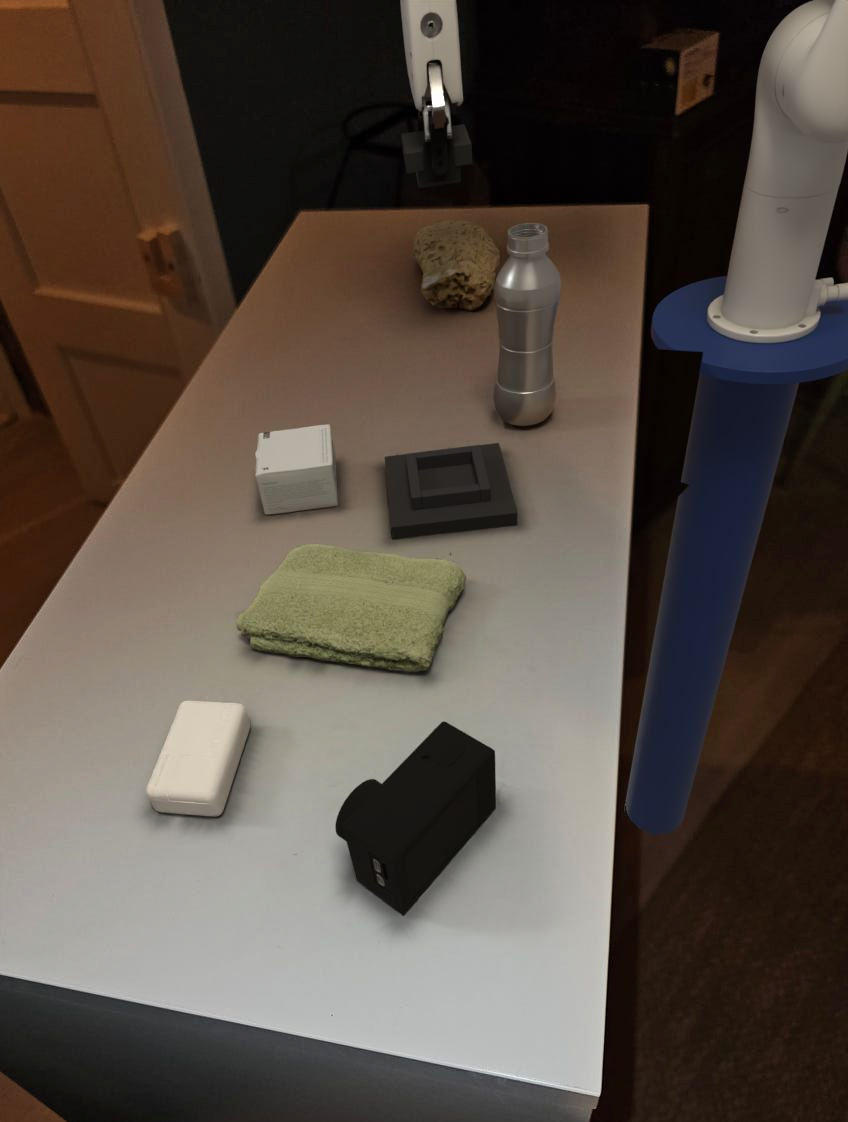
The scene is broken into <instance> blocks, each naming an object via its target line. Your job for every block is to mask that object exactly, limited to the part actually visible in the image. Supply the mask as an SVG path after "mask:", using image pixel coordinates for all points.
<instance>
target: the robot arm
mask: <svg viewBox="0 0 848 1122" xmlns="http://www.w3.org/2000/svg"><path fill="white" fill-rule="evenodd" d="M399 1H400V15H401V24H402V25H401V27H402V37H403V46H404V54H405V55H404V56H405V63H406V69H407V75H408V79H409V80H408V81H409V86H410V90H411V95H412V99H413V102H414V106H415V109H416V110H417V112H418V118H417V119H416V121H417V122H416V124H417V131H423V130H424V133H425V140H423V154H424V167H425V179H426V182H428V183H432V182H439V181H446V180H452V179H454V178H455V176H456V171H455V152H454V137H453V136H452V129H451V126H452V119H451V106H450V102H451V104H455V105H456V106H457V107H460V106H461V105H462V104H463V102H464V94H463V93H464V91H463V79H462V78H463V77H462V65H461V64H462V62H461V48H460V33H459V32H460V30H459V18H458V6H457V0H399ZM757 72H758V74H757V78H756V79H757V80H756V89H755V105H754V115H753V116H754V118H753V128H752V136H751V143H750V150H749V156H748V161H747V167H746V173H745V178H744V182H743V188H742V194H741V199H740V205H739V210H738V215H737V216H738V217H737V221H736V226H735V230H734V231H735V232H734V237H733V242H732V248H731V253H730V259H729V266H728V270H727V275H726V276H727V281H726V286H725V292H724V295H722V296H720V297H718V298H716V299H715V300H714V301H713V302H712V303H711V304H710V305H709V307H708V311H707V322H708V324H709V325H710V327H712V328H713V329H714V330H715V331H716V332H718V333H719V334H721V335H723V336H726V337H728V338H731V339H735V340H738V341H743V342H749V343H759V344H771V343H782V342H788V341H792V340H796V339H799V338H802V337H804V336H806V335H808V334H809V333H811V332H812V331H814V329H815V328H816V327H817V325H818V322H819V319H820V310H819V308H818V306H824V304H825V303H826V302H831V301H834V302H837V301H845V300H848V282H843V283H837V284H835V281H834V278H833V277H825V278H819V279H816V278H817V274H818V270H819V265H820V262H821V258H822V254H823V250H824V246H825V244H826V243H825V242H826V238H827V234H828V231H829V227H830V223H831V219H832V215H833V211H834V207H835V203H836V199H837V197H838V196H837V195H838V191H839V188H840V185H841V182H842V178H843V174H844V169H845V165H846V161H847V155H848V0H810V1H808V2H805V3H803V4H802V5H799V6H798V7H796V8H795V9H793V10H792V11H791V12H790V13H789V14H787V15H786V16H785V17H784V18H783V19H782V20H781V21H780V23H779V24H778V25H777V26H776V27H775V29H774V30H773V32H772V34H771V35H770V36H769V39H768V41H767V43H766V45H765V47H764V50H763V52H762V56H761V58H760V63H759V68H758V71H757Z"/></svg>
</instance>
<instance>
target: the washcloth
mask: <svg viewBox="0 0 848 1122" xmlns="http://www.w3.org/2000/svg"><path fill="white" fill-rule="evenodd" d="M466 580H467V575H466V574H465V572H464V570H463V569H462V568H461V567H460V566H459V565H458V564H456V563H455V562H452V561H450V560H448V559H439V558H413V557H407V556H401V555H398V554H393V553H382V552H375V551H366V550H365V551H363V550H356V549H355V550H354V549H350V548H347V547H346V548H345V547H340V546H339V547H338V546H334V545H329V544H323V543H308V544H303V545H298V546H295V547H293V548H292V549H291V550H290V551H289V552H288V553H287V554H286V555H285V557H284V560H283V561H282V562H281V563H280V565H278V567H277V568H276V569H275V570H274V571H273V573H272V574H270V576H268V578H266V579H265V580H264V582H263V583H262V584H261V585H260V587H259V589H258V593H257V595H256V597H255V599H254V600H253V602H252V603H251V604H250V605H249V606H248V607H247V609H245V610H244V611H242V613H241V614H240V615H239V616H238V617H237V619H236V621H235V625H236V629H237V631H240V634H242V635H244V636H245V637H250V641H249V642H250V643H249V644H250V646H251V648H252V649H255V650H257V651H261V652H270V653H275V654H276V653H277V654H284V655H289V656H290V657H295V658H301V657H307V658H313V659H315V660H322V661H329V662H330V661H331V662H336V663H340V662H341V663H342V664H345V663H346V664H347V665H348V664H349V665H358V666H361V667H368V668H374V667H375V668H378V669H381V668H382V669H388V670H392V671H405V672H406V673H416V672H417V673H418V672H421V671H426V670H428V669H429V667H430V666H431V664H432V663H433V661H432V659H433V657H434V656H435V647H437V646H439V643H438V642H439V641H440V639H441V638H442V635H443V632H444V631H445V628H444V626H443V625H444V623H445V620H446V618H447V616H448V613H449V611H451V610H453V609H454V607H455V605H456V601H457V600H458V597H459V596H460V595H461V593H462V591H463V589H464V588H465V587H466Z"/></svg>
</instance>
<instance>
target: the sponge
mask: <svg viewBox="0 0 848 1122" xmlns="http://www.w3.org/2000/svg"><path fill="white" fill-rule="evenodd" d="M412 245H413V246H412V249H413V256H414V257H415V260H416V262H417V263H418V266H419V267H420V269H421V272H422V273H423V275H422V277H421V278H422V279H421V284H420V288H421V293H422V295H423V296H424V298H425V299H426V300H427V301H428V302H430V304H431V306H433V307H437V306H438V307H439V308H446V309H451V308H454V309H456V308H458V306H459V308H461V309H465V310H467V311H474V310H475V309H477V308H479V307H481V306H482V305H483V304H484V302H485V301H487V300H488V297H489V296H491V294H492V290H494V285H495V282H496V277H497V276H496V275H497V271H498V268H499V266H500V262H501V255H500V252H501V251H500V250H499V248H498V247H497V246H496V244H495V243H494V240H493V239H492V238H491V236H489V234H488V233H487V232H486V230H485V228H484V227H482V226H481V225H478V224H476V223H474V222H471V221H469V220H462V219H453V218H452V219H445V220H443V221H442V222H435V223H432V224H427V225H425V226H423V227H421V228H420V229H419V230H418V231H417V233H416V234H415V236H414V237H413V244H412Z"/></svg>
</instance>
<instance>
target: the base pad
mask: <svg viewBox="0 0 848 1122" xmlns="http://www.w3.org/2000/svg"><path fill="white" fill-rule="evenodd" d="M505 464H506V463H505V461H504V456H503V452H502V449H501V445H500V442H493V443H485V444H474V445H466V446H458V447H450V448H442V449H433V450H425V451H417V452H410V453H409V452H407V453H404V454H396V455H387V456H384V467H385V476H386V488H387V498H388V509H389V520H390V530H391V537H392V540H399V539H407V538H416V537H425V536H433V535H441V534H449V533H459V532H467V531H468V532H469V531H475V530H484V529H494V528H501V527H510V526H518V509H517V506H516V502H515V498H514V494H513V490H512V487H511V483H510V480H509V476H508V471H507V468H506V465H505Z"/></svg>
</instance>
